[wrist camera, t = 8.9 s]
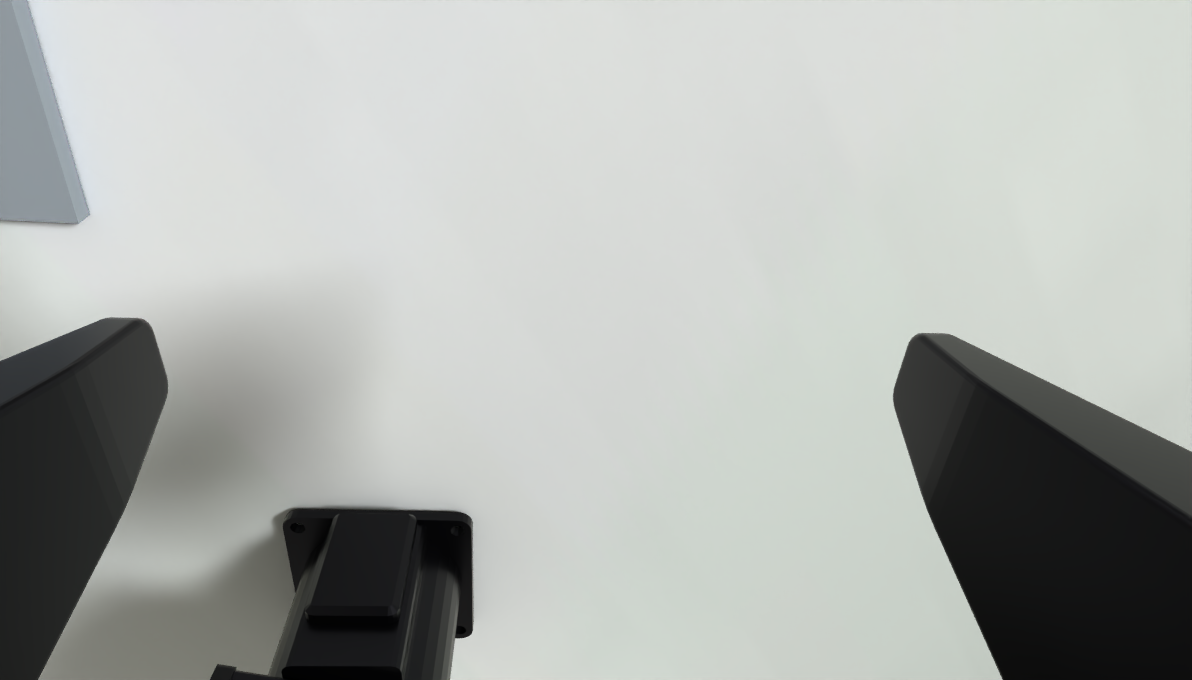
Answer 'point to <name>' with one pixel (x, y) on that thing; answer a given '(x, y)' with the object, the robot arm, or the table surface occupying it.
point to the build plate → (32, 130)
